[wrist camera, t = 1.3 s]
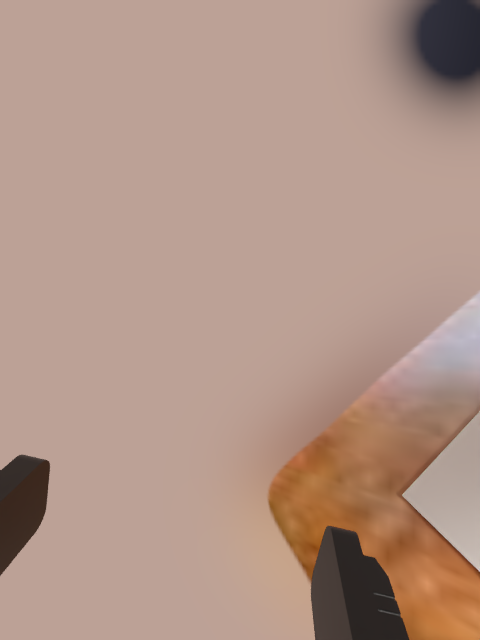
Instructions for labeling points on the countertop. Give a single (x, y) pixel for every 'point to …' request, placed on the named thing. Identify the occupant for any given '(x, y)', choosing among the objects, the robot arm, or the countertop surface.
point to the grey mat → (453, 492)
